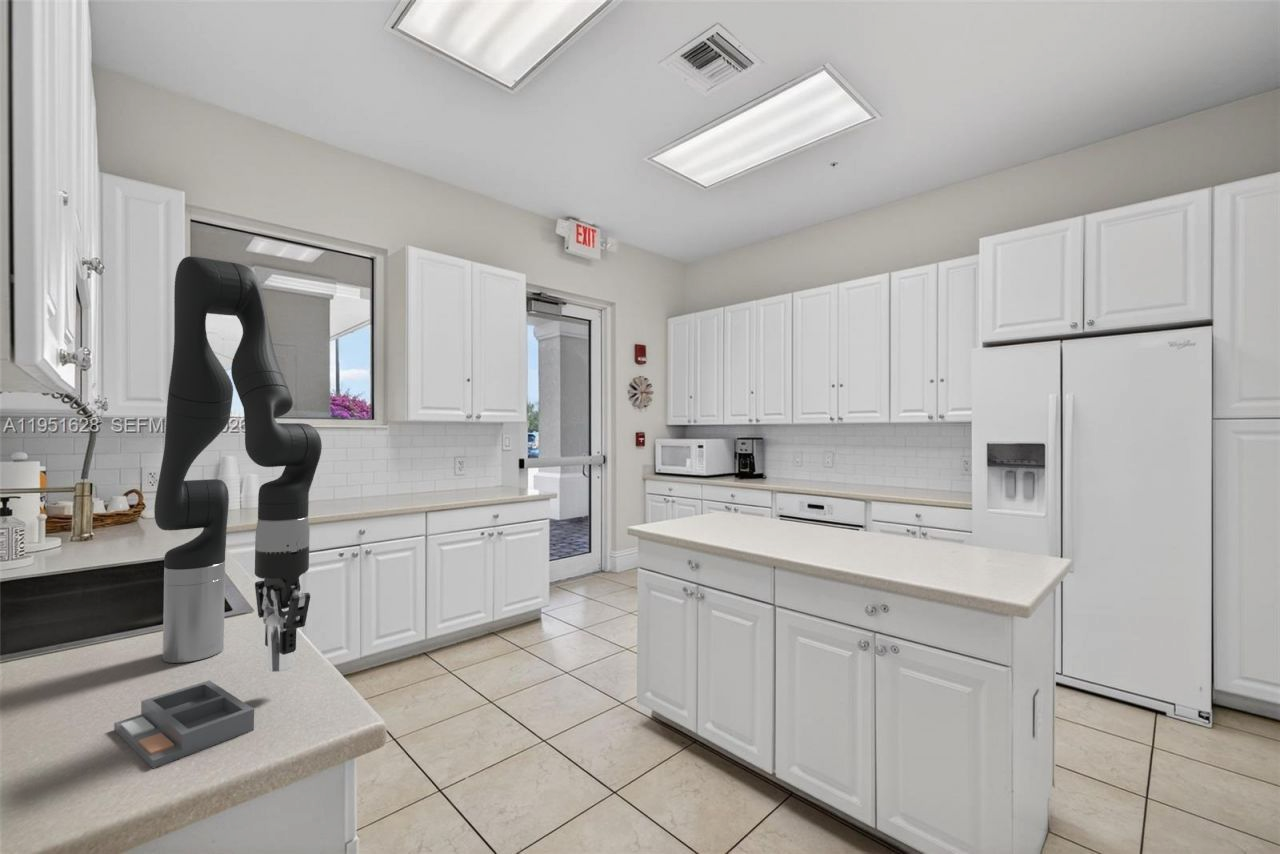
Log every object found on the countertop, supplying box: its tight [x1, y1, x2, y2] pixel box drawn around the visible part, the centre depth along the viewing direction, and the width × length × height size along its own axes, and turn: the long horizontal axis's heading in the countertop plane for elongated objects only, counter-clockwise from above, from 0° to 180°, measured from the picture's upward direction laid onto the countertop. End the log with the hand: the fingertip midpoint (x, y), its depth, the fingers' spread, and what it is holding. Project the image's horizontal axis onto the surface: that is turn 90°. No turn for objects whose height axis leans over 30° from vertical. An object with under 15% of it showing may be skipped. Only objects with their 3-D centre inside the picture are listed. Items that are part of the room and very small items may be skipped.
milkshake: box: [265, 613, 298, 673], centre depth 93 cm, size 4×5×10 cm
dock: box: [113, 680, 255, 769], centre depth 82 cm, size 16×12×3 cm
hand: (280, 648), depth 93 cm, fingers closed on milkshake, 4 cm apart
